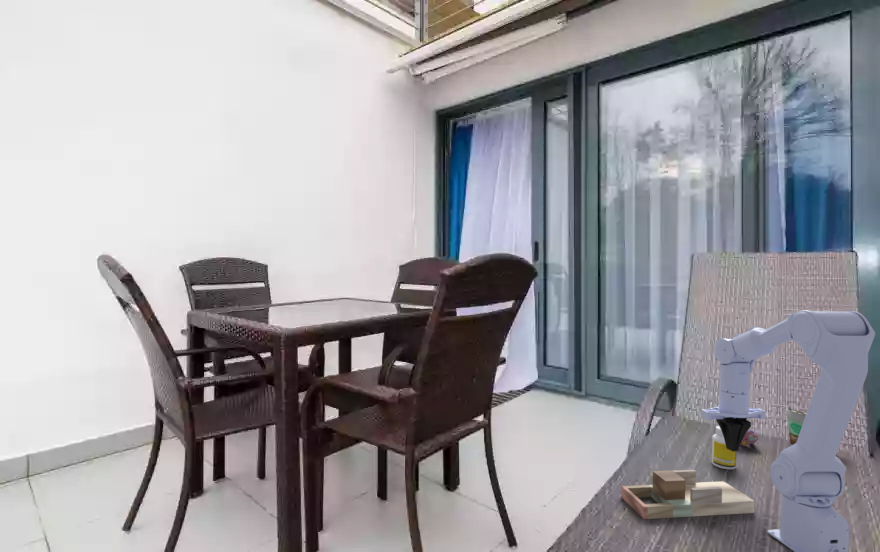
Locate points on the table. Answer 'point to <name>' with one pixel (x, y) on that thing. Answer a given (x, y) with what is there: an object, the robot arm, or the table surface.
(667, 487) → the walnut block
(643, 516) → the board
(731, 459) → the supplement bottle
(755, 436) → the video game controller
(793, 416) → the food container
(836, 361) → the robot arm
